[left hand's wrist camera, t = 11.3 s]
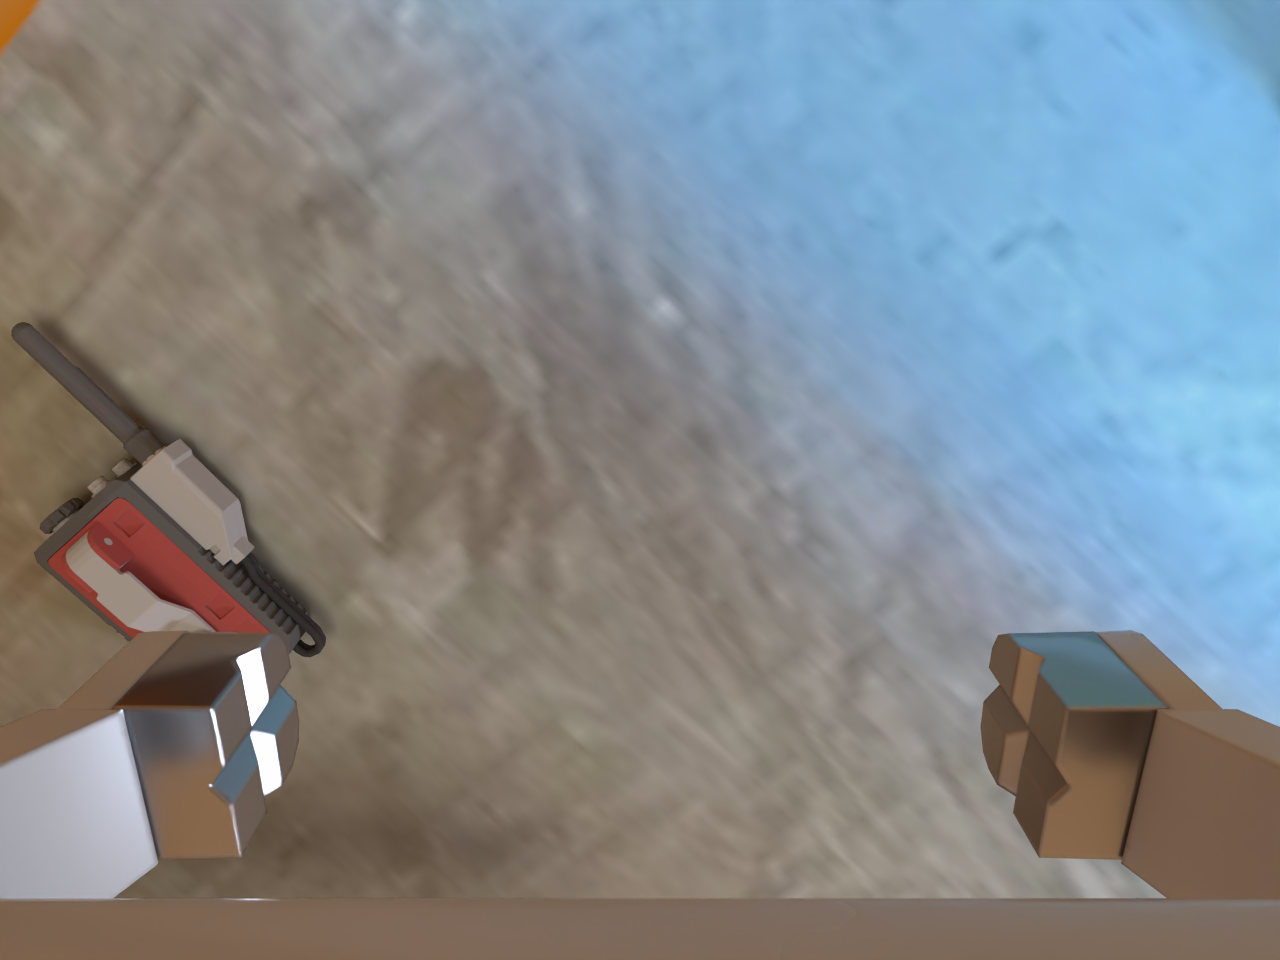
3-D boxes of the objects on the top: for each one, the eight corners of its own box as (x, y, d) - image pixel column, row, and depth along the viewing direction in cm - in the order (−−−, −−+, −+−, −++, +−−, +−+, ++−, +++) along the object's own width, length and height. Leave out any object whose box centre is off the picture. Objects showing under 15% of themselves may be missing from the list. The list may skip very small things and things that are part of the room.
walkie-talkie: (365, 609, 46) (50, 304, 40) (337, 654, 41) (-18, 322, 36) (248, 701, 48) (-67, 422, 42) (211, 753, 43) (-144, 451, 38)
